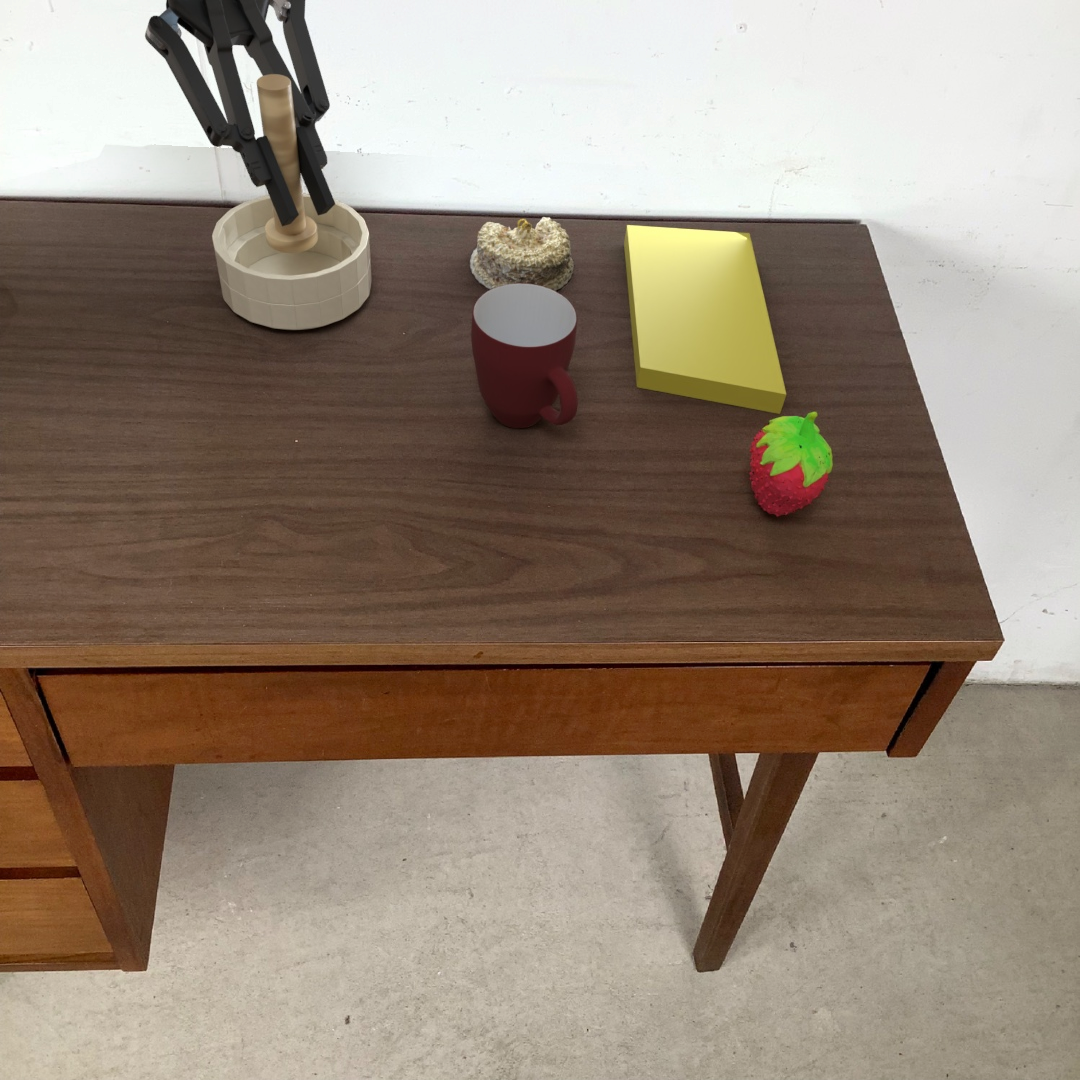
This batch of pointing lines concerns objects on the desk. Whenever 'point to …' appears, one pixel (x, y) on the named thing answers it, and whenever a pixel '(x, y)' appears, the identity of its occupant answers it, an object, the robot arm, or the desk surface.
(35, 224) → the desk surface
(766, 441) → the strawberry
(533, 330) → the mug
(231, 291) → the bowl
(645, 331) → the yellow flat board
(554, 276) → the cake
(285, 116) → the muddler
